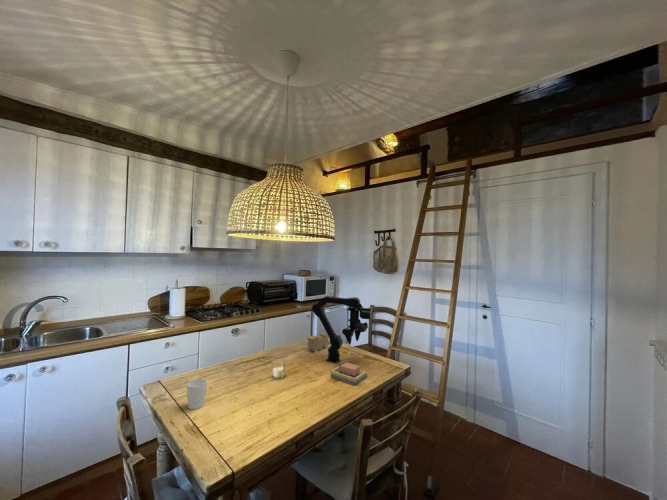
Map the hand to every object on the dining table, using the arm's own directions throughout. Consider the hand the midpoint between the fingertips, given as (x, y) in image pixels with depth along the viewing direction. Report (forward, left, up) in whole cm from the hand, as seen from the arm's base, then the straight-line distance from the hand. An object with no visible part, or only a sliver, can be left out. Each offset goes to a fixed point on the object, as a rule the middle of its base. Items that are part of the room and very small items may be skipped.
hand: (353, 342), depth 175 cm
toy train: (-32, +6, -13) cm, 35 cm away
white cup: (-31, -84, -13) cm, 91 cm away
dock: (+8, -18, -13) cm, 24 cm away
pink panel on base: (+8, -18, -11) cm, 23 cm away
